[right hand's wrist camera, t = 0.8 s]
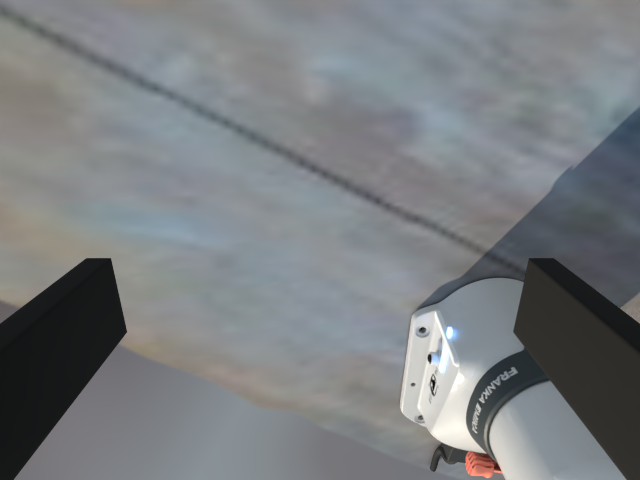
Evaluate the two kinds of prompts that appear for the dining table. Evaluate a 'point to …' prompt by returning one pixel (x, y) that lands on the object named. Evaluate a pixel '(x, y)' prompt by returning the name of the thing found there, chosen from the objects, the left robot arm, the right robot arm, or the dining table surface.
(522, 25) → the dining table surface
